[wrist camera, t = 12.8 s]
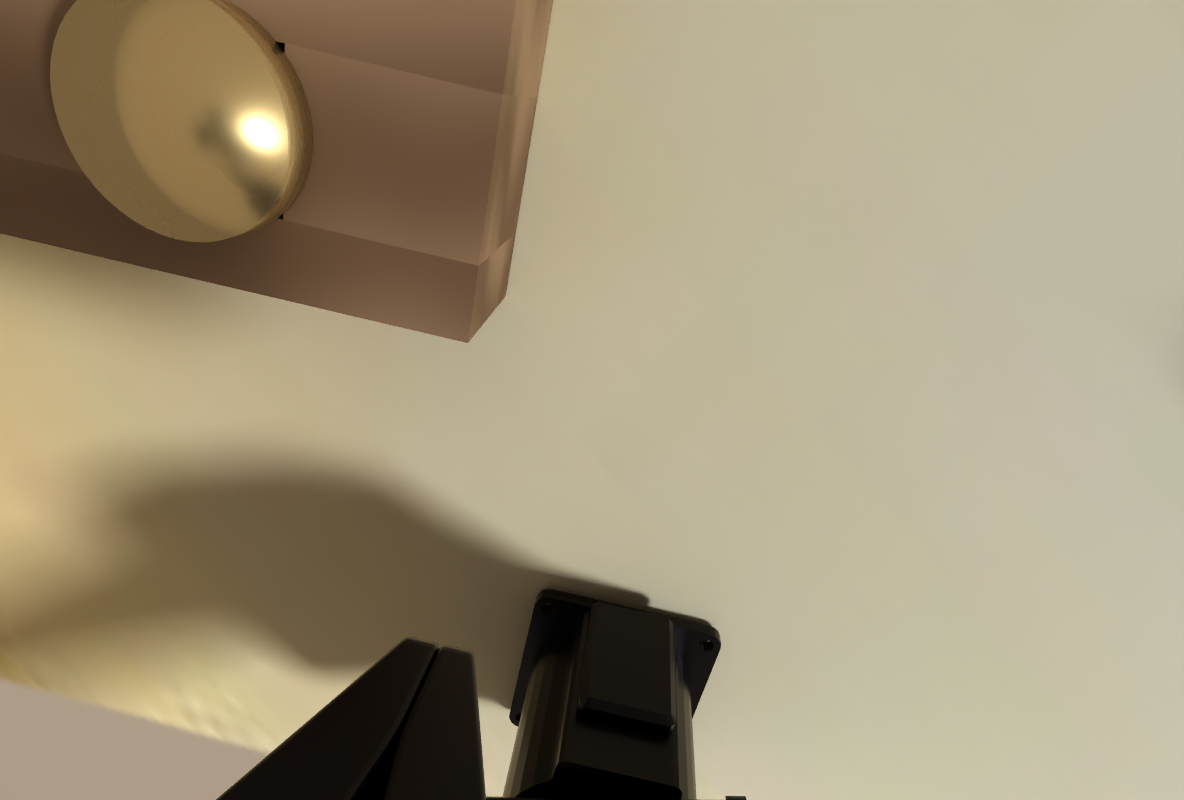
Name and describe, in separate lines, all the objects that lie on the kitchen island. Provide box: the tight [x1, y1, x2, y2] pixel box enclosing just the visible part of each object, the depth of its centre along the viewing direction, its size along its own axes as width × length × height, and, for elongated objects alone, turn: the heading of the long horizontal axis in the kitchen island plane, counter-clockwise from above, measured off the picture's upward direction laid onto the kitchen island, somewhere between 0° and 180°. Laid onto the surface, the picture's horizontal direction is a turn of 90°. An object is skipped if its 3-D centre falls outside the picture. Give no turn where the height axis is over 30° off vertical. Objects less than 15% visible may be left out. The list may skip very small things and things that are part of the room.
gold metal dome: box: [50, 0, 313, 242], centre depth 15 cm, size 5×5×5 cm
